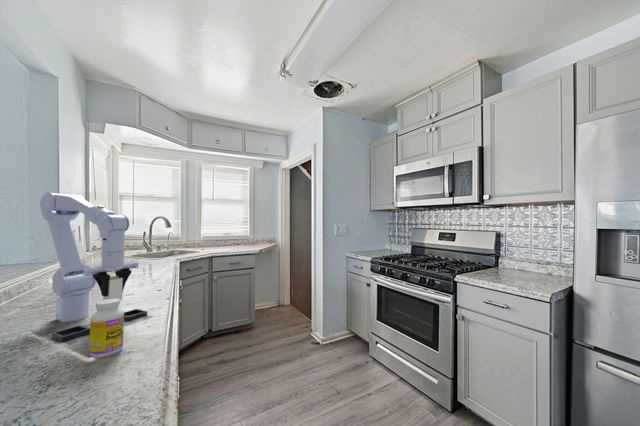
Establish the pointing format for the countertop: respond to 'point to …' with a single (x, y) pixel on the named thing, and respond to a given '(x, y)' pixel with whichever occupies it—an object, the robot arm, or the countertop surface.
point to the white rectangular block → (114, 288)
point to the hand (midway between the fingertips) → (112, 294)
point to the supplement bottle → (106, 329)
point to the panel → (83, 330)
